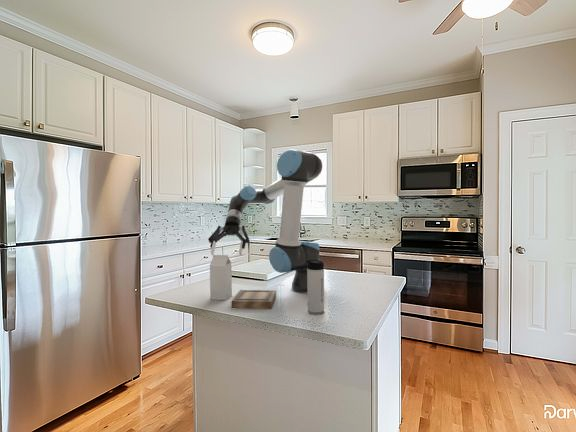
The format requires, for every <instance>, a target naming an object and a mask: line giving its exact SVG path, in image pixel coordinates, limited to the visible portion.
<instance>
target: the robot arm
mask: <svg viewBox="0 0 576 432" xmlns="http://www.w3.org/2000/svg"><path fill="white" fill-rule="evenodd" d="M276 170H277V172H278V174H279V175H280V178H279V179H278V180H276V181H274V182H273V183H270V185H267V186H266V187H265V188H263V189H256V188H255V187H254V186H251V185H250V184H247V185H245V186H244V187H243V188H241V190H240V191H239V192H238V194H236V195H234V196H232V197H231V199H230V201H229V205H228V206H229V207H228V209H227V215H226V217H225V218H226V219H225V222H224V226H221V225H218V226H217V228H216V229H215V230H214V231H213V233H212V234H211V235H210V236H209V237H208V238H207V240H208V243H210V245H209V246H210V254H211V256H213V255H215V250H216V246H217V242H219V241H220V240H221V239H223V238H224V237H226V236H234V235H235V236H236V237H237V238H238V239H239V240H240V245H239V251H238V253H239V256H242V255H243V249H245V248H246V245H247V243H248V244H250V243H251V242H250V238H249V235H248V234H247V231H246V227H245V225H242V226H241V221H242V216H243V212H244V210H245V208H246V207H247V206H248V205H249V204H251V205H252V204H253V205H254V204H258V205H259V204H265V205H268V204H272V203H274V202H275V200H276V198H278V197H280V196H282V195H283V197H282V207H281V216H280V230H279V237H278V239H276V240H275V244H274V245H275V246H274V247H272V248H271V249H270V250H269V254H268V259H269V263H270V265H271V266H272V269H273V270H274V271H275V272H277V273H280V274H281V273H282V274H283V273H289V272H293V271H295V273H294V277H293V279H292V282H291V289H292V290H293V291H294V292H299V293H304V294H305V293H307V267H308V266H307V264H308V262H306V260H318V261H320V245H319V243H318V242H317V241H307V240H306V241H305V240H300V239H299V237H300V229H301V228H300V226H301V219H302V218H301V217H302V207H303V197H304V187H305V186H306V185H307V184H308V183H310V182H312V181H313V180H315V179H316V178H318V177H319V176H320V175H321V173H322V171H323V162H322V159H321V158H320V156H319V155H318V154H316V153H314V152H310V151H309V152H308V151H303V150H299V149H287V150H284V151H283V152H281V154H280V155H279V157H278V158H277V163H276ZM239 231H240V232H242V233H243V235H242V234H241V233H240V232H239Z"/></svg>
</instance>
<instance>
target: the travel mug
mask: <svg viewBox="0 0 576 432" xmlns="http://www.w3.org/2000/svg"><path fill="white" fill-rule="evenodd" d="M306 262H308V264H307V266H308V267H307V313H308V314H310V315H313V316H319V315H322V314H324V313H325V267H324V265H325V263H324V262H323V260H319V261H318V260H306Z"/></svg>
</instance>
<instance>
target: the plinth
mask: <svg viewBox="0 0 576 432" xmlns="http://www.w3.org/2000/svg"><path fill="white" fill-rule="evenodd" d="M276 298H277V290H276V289H240V290H239V291H238V292H237V293H236V294H235V296H234V297H233V298H232V299H231V301H230V303H231V305H230V306H231V307H230V308H236V309H235V310H237V309H240V310H241V309H242V310H244V309H245V310H249V309H250V310H272V309H273V306H274V303H275V301H276Z"/></svg>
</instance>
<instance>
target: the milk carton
mask: <svg viewBox="0 0 576 432" xmlns="http://www.w3.org/2000/svg"><path fill="white" fill-rule="evenodd" d="M232 272H233V271H232V261H231V260H230V258H229V255H228V254H214V255H212V259H211V261H210V264H209V281H210V282H209V287H210V288H209V289H210V294H209V295H210V300H218V301H227V300H229V298H231V297H232V296H233V289H232V288H233V286H232V284H233V283H232V282H233V281H232V280H233V279H232Z"/></svg>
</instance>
